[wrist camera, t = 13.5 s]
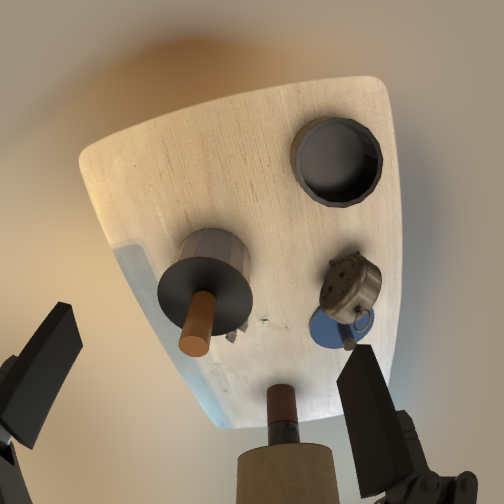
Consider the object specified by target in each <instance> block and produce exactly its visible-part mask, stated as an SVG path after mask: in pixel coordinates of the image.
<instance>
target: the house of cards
mask: <svg viewBox="0 0 504 504" xmlns="http://www.w3.org/2000/svg"><path fill="white" fill-rule="evenodd" d="M259 321H260V322H261V323H262V324H263V323H266V322H268V321H270V320H269V318H268V317H267V316H266V317H264V318H262V319H260V320H259ZM247 327H248V319H247V320H246V321H245V322H244V324H243V325H241V326H240V327H239V328H237V329H239V330H240V331H242V332H244V333H245V332H246V330H247ZM237 329H236V330H234V331H232V332H230V333H227V334H226V337H225V338H226V339H227V340H228V341H229V342H231V343H233V344H234V341H235V339H236V336H237V334H236V333H237Z"/></svg>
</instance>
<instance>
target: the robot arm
mask: <svg viewBox="0 0 504 504" xmlns="http://www.w3.org/2000/svg"><path fill="white" fill-rule="evenodd" d="M82 347H83V344H82V341H81V338H80V334H79V331H78V328H77V324H76V321H75V317H74V314H73V310H72V306H71V305H70V304H67V303H63V302H58V303H57V304H56V306H55V307H54V308H53V309H52V311H51V312H50V313H49V314H48V316H47V317H46V318H45V320H44V321H43V322H42V324H41V325H40V326H39V328H38V329H37V331H36V332H35V333H34V335H33V336H32V338H31V339H30V340H29V342H28V343H27V344H26V346H25V347H24V349H23V350H22V352H21V353H20V355H19V356H18V357H17V356H14V355H12V356H11V357H9V358H8V359H7V360H6V361H4V363H3V364H2V366H1V367H0V504H33V503H32V501H31V498H30V496H29V493H28V490H27V488H26V485H25V482H24V479H23V476H22V473H21V470H20V467H19V463H18V460H17V457H16V453H15V449H14V445H13V443H12V441H11V439H12V437H14V438H15V439H16V440H17V441H18V442H19V443H20V444H22V445H24V446H26V447H27V448H29V449H31V450H32V449H33V447H34V444H35V442H36V439H37V437H38V435H39V432H40V430H41V428H42V426H43V424H44V421H45V419H46V417H47V415H48V412H49V410H50V409H51V406H52V404H53V402H54V400H55V398H56V396H57V394H58V392H59V390H60V388H61V386H62V384H63V382H64V380H65V378H66V376H67V375H68V373H69V371H70V369H71V367H72V365H73V363H74V362H75V360H76V358H77V356H78V354H79V353H80V350H81V349H82ZM336 382H337V386H338V390H339V395H340V399H341V403H342V407H343V412H344V416H345V420H346V425H347V429H348V434H349V439H350V443H351V448H352V453H353V458H354V463H355V468H356V473H357V479H358V484H359V489H360V495H361V498H367V497H372V496H376V495H378V494H380V493H382V492H384V491H385V494H386V496H384V497H382V498H381V499H379V500H377V501H376V502H375V503H374V504H378V503H380V502H381V503H380V504H476V501H477V490H478V481H477V478H476V476H475V474H473V473H472V472H470V471H465V472H463V473H461V474H460V475H458V476H457V477H441V476H439V475H438V474H436V473H435V472H433V471H431V470H430V469H429V467H428V465H427V462H426V459H425V456H424V452H423V450H422V446H421V444H420V441H419V439H418V435H417V432H416V431H415V426H414V424H413V421H412V418H411V417H410V416H409V415H408V414H407V412H406V411H405V410H400V411H396V410H395V407H394V404H393V402H392V399H391V396H390V393H389V391H388V388H387V385H386V383H385V380H384V377H383V375H382V372H381V370H380V367H379V364H378V362H377V359H376V357H375V354H374V352H373V349H372V347H371V345H369V344H356V346H355V348H354V349H353V351H352V353H351V355H350V357H349V359H348V361H347V363H346V365H345V367H344V368H343V370H342V372H341V374H340V376H339V377H338V379H337V381H336Z"/></svg>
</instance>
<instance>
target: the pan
mask: <svg viewBox="0 0 504 504" xmlns="http://www.w3.org/2000/svg"><path fill="white" fill-rule="evenodd" d="M290 158H291V166H292V169H293V172H294V175H295V177H296V179H297V181H298V183H299V184H300V186H301V187H302V188H303V189H304V191H305V192H306V193H307V194H308V195H309V196H310V197H311V198H312V199H313V200H315V201H317V202H319V203H321V204H323V205H325V206H327V207H338V208H346V207H349V206H352V205H354V204H357V203H360V202H362V201H363V200H364V199H365V198H366V197H367V196H369V195H370V194H371V193H372V192H373V191H374V189H375V187H376V185H377V184H378V182H379V180H380V178H381V174H382V166H383V157H382V153H381V149H380V145H379V142H378V141H377V140H376V138H375V137H374V135H373V134H372V133H371V131H370V130H369V129H368V128H367V127H365V126H363V125H362V124H360V123H358V122H356V121H355V120H353V119H345V118H337V117H324V118H320V119H317V120H314V121H311V122H310V123H308V124H307V125H306V126H304V127H303V128H302V129H301V130H300V131H299V132H298V134H297V136H296V137H295V139H294V141H293V144H292V147H291V154H290Z"/></svg>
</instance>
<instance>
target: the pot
mask: <svg viewBox="0 0 504 504" xmlns="http://www.w3.org/2000/svg"><path fill="white" fill-rule="evenodd" d="M198 256H203V257H211V258H215V259H219V260H221V261H224V262H226V263H228V264H230V265H231V266H233V267H234V268H236V269H237V270H238V271H239V272H240V273H241V274H242V275H243V276H244V277H245V279H246V280H247V282H248V283H249V285H250V257H249V253H248V251H247V249H246V247H245V245H244V244H243V243H242V241H241V240H240V239H238V238H237V237H236V236H235V235H233V234H231V233H229V232H227V231H224V230H221V229H214V228H208V229H202V230H199V231H196V232H194V233H192V234H191V235H189V236H188V237H187V238H186V239H185V240H184V241H183V242H182V243H181V245H180V247H179V249H178V251H177V253H176V255H175V257H174V259H173V261H172V263H171V265H172V264H174V263H176V262H177V261H180V260H182V259H185V258H189V257H198ZM171 265H170V266H171Z"/></svg>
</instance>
